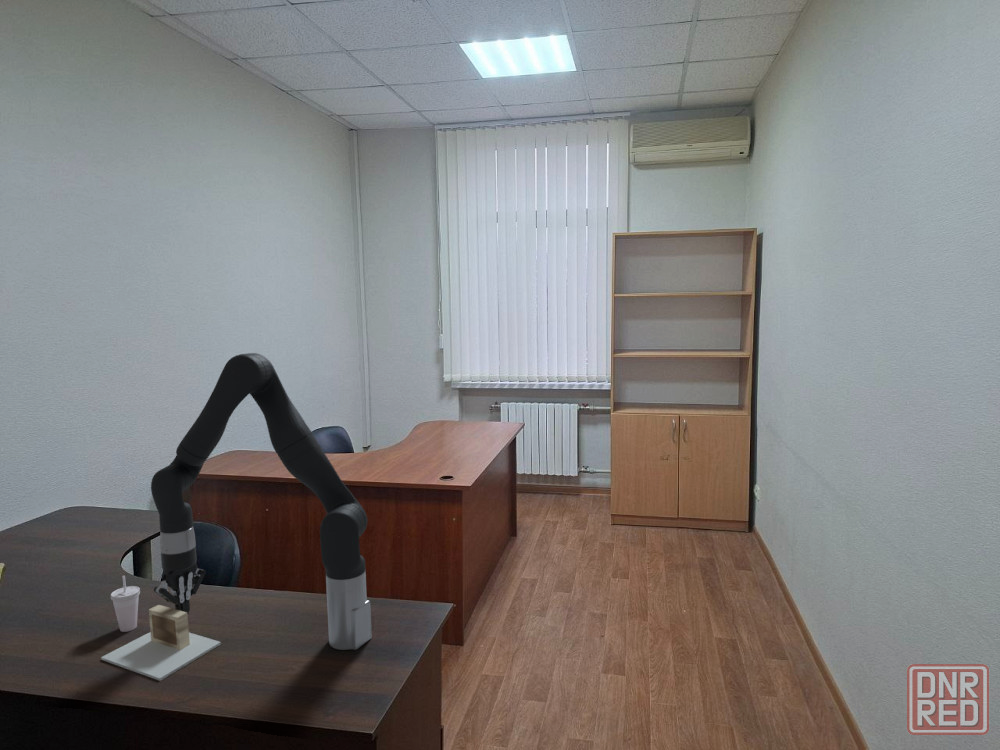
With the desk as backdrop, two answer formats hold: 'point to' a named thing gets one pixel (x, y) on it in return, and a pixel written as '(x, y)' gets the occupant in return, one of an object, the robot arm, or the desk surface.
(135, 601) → the smoothie
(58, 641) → the desk surface
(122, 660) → the mat
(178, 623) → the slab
